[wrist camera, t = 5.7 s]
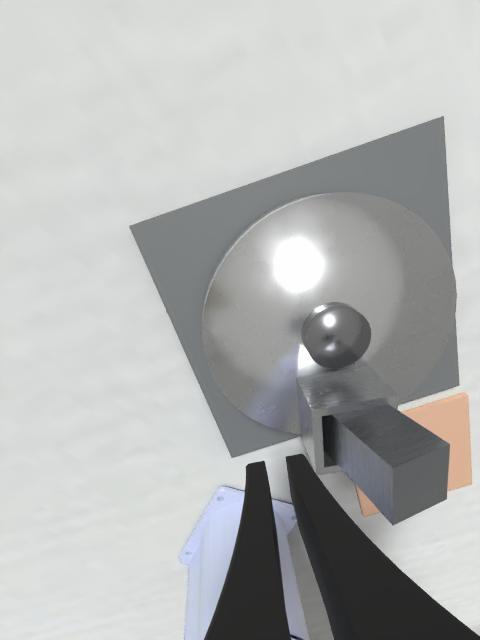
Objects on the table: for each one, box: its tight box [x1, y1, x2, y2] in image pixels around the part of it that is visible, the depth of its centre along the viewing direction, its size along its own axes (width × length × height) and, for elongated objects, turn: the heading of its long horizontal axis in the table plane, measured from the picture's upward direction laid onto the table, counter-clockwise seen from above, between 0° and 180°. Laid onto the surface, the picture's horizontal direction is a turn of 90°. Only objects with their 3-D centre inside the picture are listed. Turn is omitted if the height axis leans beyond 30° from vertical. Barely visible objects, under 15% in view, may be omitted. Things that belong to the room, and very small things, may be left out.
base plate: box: [129, 116, 459, 457], centre depth 20 cm, size 18×18×1 cm
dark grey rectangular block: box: [322, 405, 450, 525], centre depth 16 cm, size 3×3×6 cm
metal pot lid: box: [202, 192, 457, 475], centre depth 17 cm, size 15×15×5 cm
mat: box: [355, 393, 472, 517], centre depth 26 cm, size 10×10×1 cm
